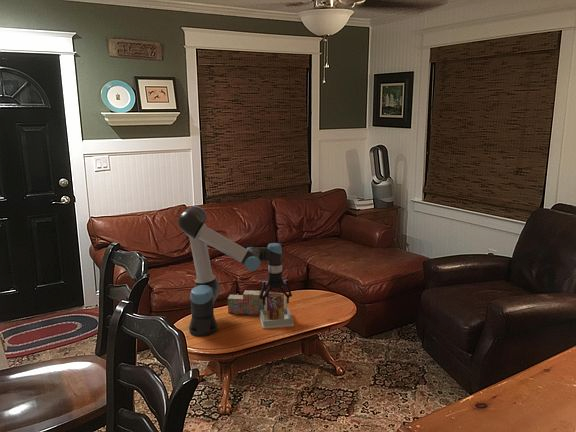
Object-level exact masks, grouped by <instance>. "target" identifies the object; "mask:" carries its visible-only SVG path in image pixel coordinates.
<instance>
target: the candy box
mask: <svg viewBox="0 0 576 432" xmlns="http://www.w3.org/2000/svg"><path fill="white" fill-rule="evenodd" d="M266 300H267V320H277V319H284V308H285V294H284V293H283V292H276V291H270V292H269V294H268V295H267V297H266Z"/></svg>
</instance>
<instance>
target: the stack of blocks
mask: <svg viewBox="0 0 576 432" xmlns="http://www.w3.org/2000/svg"><path fill="white" fill-rule="evenodd" d="M260 292H261V290H244V291H243V294H229V296H228V297H227V312H228V314H240V315H241V314H242V315H256V316H257V315H258V316H259V314H260V310H261V309H265V305H263V299H260V297H259V295H260ZM265 292H266V291H265V290H264V293H263V295H264V294H265Z"/></svg>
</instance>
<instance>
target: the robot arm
mask: <svg viewBox="0 0 576 432" xmlns="http://www.w3.org/2000/svg"><path fill="white" fill-rule="evenodd" d="M206 221H207V213H206V211H205V210H204V208H202V207H200V206H197V205H194V206H190V207H189V206H188V208H186V209H185V210H184V211H183V212H182V213H180V214H179V216H178V219H177V224H178V228H179V229H180V231H182V232H183V233H184V234H185V235H187V236H188V238H189V243H190V244H189V245H190V248H191V254H192V258H193V264H194V269H195V274H196V278H195V280H194V283H195V286H194V287H193V288H192V289H191V290H190V296H189V298H190V310H191V311H190V313H191V319H190V322H189V326H188V332H189V333H190V334H191V335H192V336H196V337H206V336H210V335H213V334H215V333H217V331H218V330H219V329H218V328H219V327H218V322H217V320H216V318H215V314H214V313H215V312H214V303H215V302H216V300H217V298H218V296H219V295H220V292H221V286H220V283H219V282H218V280H217V276H216V275H214V274H213V271H212V264H211V259H210V254H209V248H208V245H209V246H211V247H212V248H214V249H215V250H218V251H219V252H221V253H223V254H225V256H228V257H230V258H232V259H233V260H235V261H237V262H239V263H241V264H242V265H244V266H245V268H246V270H248V271H249V272H255V271H257V270H258V269H259V267H260V266H261V264H262V263H261V262H267V263H268V264H267V269H268V272H267V274H268V279H267V280H262V286H261V290H260V291H261V292H260V295H259V297H260V299H263V305H265V311H267V295H268V294H269V292H271V290H272V289H280V290H281V292H282V293H284V308H285V309H287V307H288V304H289V303H290V300H289V299H290V297H291V298H292V297H293V294H292V291H291V288H290V286H289V281H288V279H287V278H285V279H283V251H282V250H283V249H282V244H281V243H278V242H271V243H268V244H267V247H265V246H264V247H256V246H255V247H254V246H249V247H248V246H247V248H246V247H243V246H242V245H240V244H238V243H236V242H235V241H233V240H231V239H229V238H228V237H226V236H224V235H222V234H221V233H220V232H217V231H215V230H213V229H211V228H210V227H208V226H207V225H206ZM282 284H284V285H285V288H286V289H287V291H286V290H285V289H284V287H283V286H282ZM267 285H268V287H267ZM266 287H267V289H266ZM265 290H266V292H265V294H264V295H263V293H264V291H265Z"/></svg>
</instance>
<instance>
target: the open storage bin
mask: <svg viewBox="0 0 576 432" xmlns="http://www.w3.org/2000/svg"><path fill="white" fill-rule="evenodd" d="M258 317H259V321H260V323H261V327H262V329H273V328H274V329H276V328H286V327H294V326H295V324H294V319H293V317H292V314H291V312H290V308H289V307H288V306H287V309H285V307H284V319H277V320H267V311H265V309H261V310H260V314H259V315H258Z"/></svg>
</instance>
